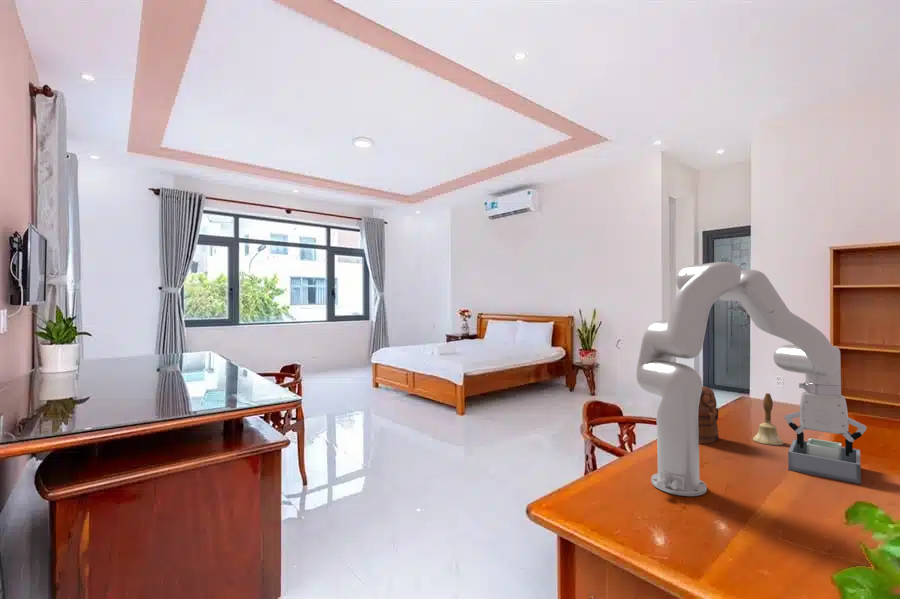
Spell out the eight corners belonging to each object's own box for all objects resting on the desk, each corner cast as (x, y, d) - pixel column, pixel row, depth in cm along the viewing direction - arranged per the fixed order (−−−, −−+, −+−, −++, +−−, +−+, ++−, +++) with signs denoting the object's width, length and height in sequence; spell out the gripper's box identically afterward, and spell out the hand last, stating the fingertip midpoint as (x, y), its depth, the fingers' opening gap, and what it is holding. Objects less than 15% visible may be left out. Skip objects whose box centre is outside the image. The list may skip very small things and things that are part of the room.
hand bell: (773, 437, 148) (772, 390, 148) (789, 445, 140) (788, 396, 140) (747, 437, 149) (746, 390, 149) (762, 445, 140) (761, 396, 140)
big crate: (860, 484, 110) (860, 465, 110) (788, 469, 120) (788, 452, 120) (860, 467, 121) (860, 449, 121) (793, 455, 131) (793, 439, 131)
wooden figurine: (707, 445, 141) (706, 390, 141) (687, 441, 146) (686, 387, 146) (722, 438, 148) (721, 385, 148) (702, 433, 153) (701, 383, 153)
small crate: (840, 472, 116) (840, 449, 116) (807, 465, 121) (806, 444, 121) (841, 464, 121) (841, 443, 121) (809, 458, 126) (808, 438, 126)
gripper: (782, 387, 124) (783, 447, 124) (866, 396, 112) (867, 462, 112) (785, 383, 129) (786, 441, 129) (865, 391, 118) (866, 454, 118)
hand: (824, 450), depth 121 cm, fingers open, 9 cm apart
